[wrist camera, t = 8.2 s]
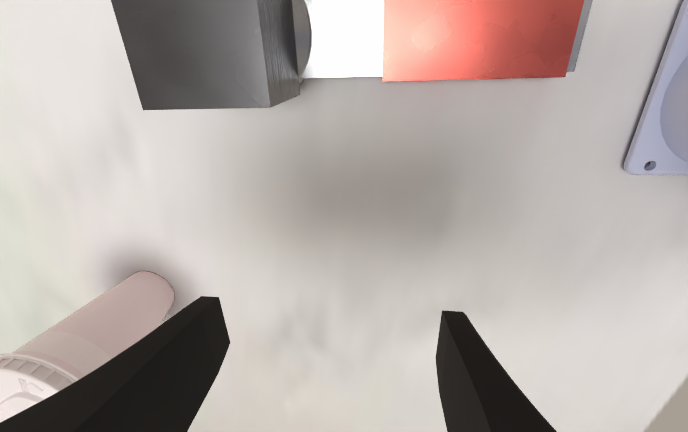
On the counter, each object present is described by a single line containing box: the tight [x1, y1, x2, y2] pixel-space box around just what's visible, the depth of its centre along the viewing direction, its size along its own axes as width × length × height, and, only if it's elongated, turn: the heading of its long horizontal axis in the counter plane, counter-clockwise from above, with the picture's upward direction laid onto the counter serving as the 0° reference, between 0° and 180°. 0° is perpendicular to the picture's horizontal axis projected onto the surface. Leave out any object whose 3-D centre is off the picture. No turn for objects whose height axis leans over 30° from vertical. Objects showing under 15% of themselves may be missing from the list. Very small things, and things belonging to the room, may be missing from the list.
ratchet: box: [292, 0, 592, 85], centre depth 14 cm, size 18×6×4 cm, turn 92°
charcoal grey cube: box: [111, 0, 300, 110], centre depth 13 cm, size 5×5×4 cm
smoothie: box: [0, 271, 175, 422], centre depth 19 cm, size 6×6×14 cm
